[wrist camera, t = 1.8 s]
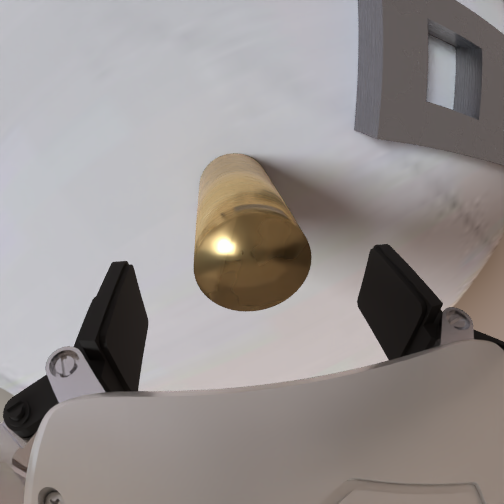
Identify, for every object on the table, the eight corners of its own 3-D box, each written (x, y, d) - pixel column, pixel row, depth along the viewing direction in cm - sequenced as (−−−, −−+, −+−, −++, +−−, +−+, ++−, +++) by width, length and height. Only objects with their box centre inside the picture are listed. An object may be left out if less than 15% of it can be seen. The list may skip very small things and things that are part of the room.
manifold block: (356, -25, 10) (378, -38, 8) (529, 72, 13) (548, 77, 11) (354, 130, 17) (377, 138, 14) (519, 166, 20) (537, 177, 17)
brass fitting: (197, 155, 17) (187, 217, 9) (268, 152, 17) (317, 211, 10) (201, 219, 19) (200, 315, 11) (266, 215, 20) (304, 305, 12)
